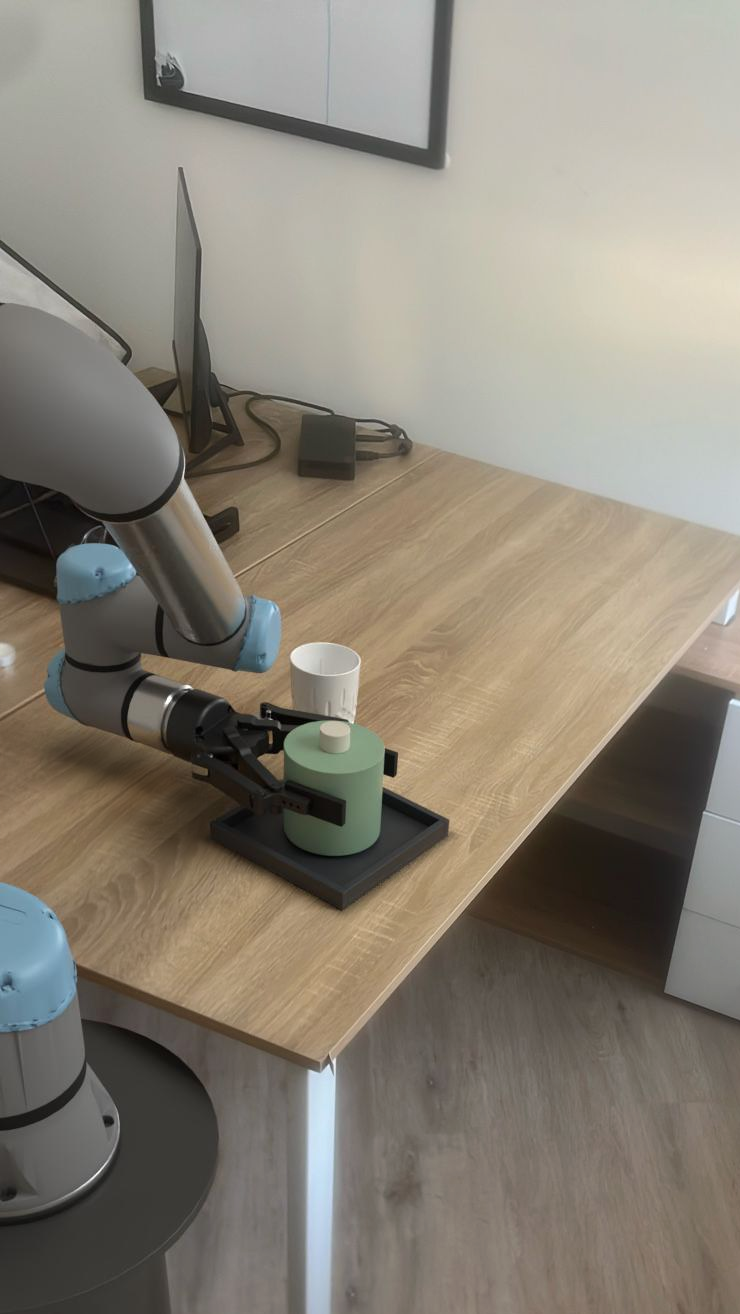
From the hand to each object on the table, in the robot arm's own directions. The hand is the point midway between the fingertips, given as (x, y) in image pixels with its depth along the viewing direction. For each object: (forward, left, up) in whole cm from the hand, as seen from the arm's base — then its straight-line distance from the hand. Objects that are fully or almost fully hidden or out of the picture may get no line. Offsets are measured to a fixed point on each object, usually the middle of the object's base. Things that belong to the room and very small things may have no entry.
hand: (370, 788), depth 128 cm
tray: (-1, +4, -8) cm, 9 cm away
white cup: (+14, +18, -8) cm, 24 cm away
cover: (-1, +4, -6) cm, 8 cm away
